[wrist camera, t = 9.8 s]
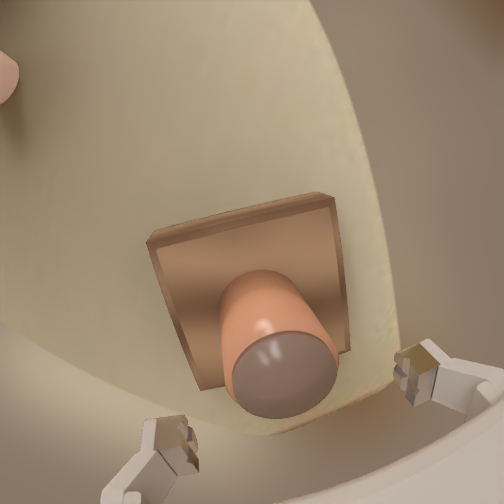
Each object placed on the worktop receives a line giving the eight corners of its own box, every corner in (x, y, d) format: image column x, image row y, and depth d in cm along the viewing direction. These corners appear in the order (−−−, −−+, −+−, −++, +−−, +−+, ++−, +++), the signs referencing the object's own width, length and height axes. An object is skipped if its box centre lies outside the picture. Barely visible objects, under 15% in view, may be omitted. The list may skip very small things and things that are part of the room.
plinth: (154, 230, 20) (145, 243, 17) (317, 191, 21) (336, 197, 18) (200, 366, 23) (200, 393, 20) (335, 330, 24) (352, 352, 21)
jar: (208, 281, 18) (210, 349, 11) (293, 260, 18) (339, 316, 12) (229, 351, 19) (241, 433, 13) (305, 332, 20) (345, 404, 13)
